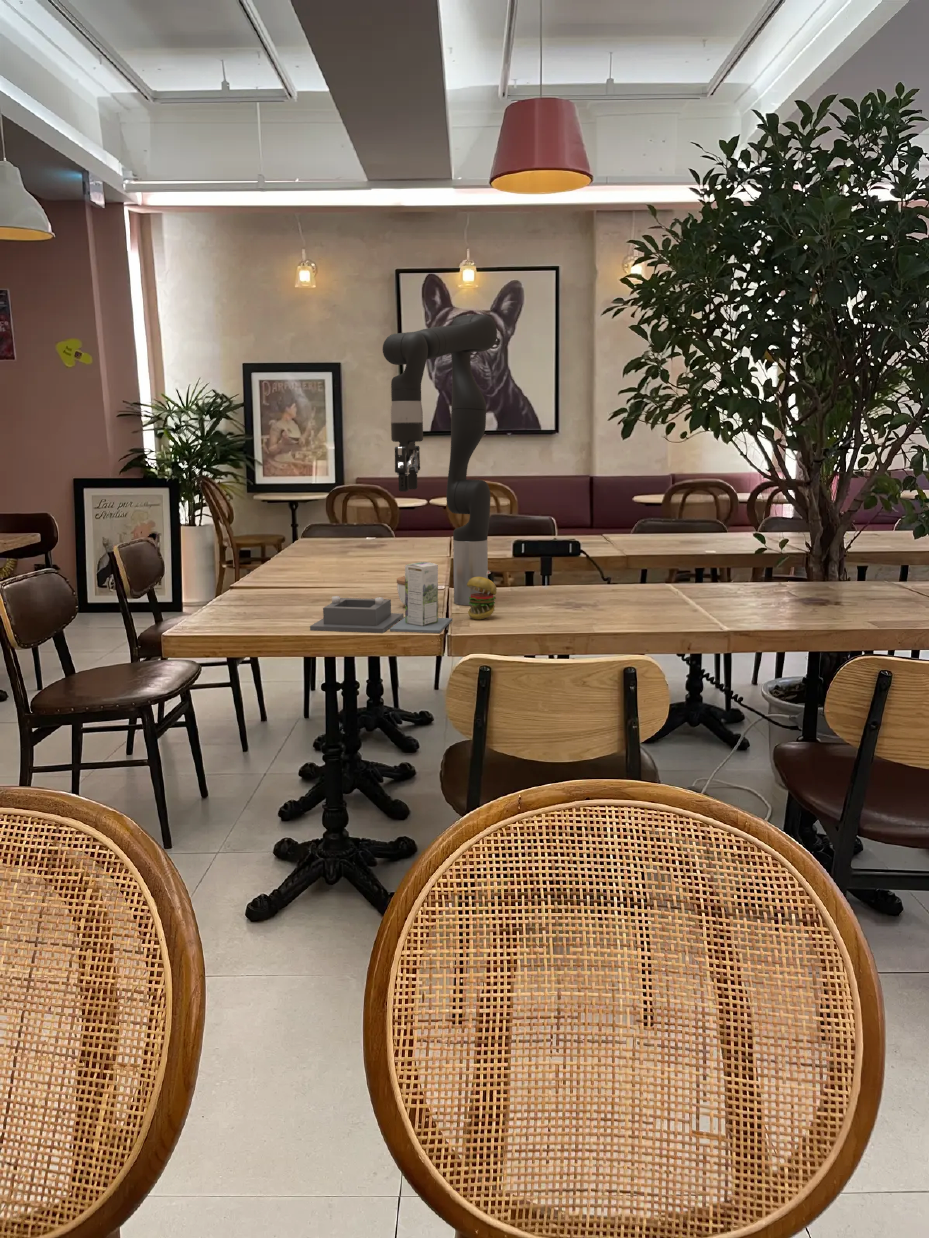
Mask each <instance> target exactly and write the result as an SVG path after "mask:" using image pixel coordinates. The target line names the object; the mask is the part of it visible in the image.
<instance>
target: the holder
mask: <svg viewBox="0 0 929 1238" xmlns="http://www.w3.org/2000/svg"><path fill="white" fill-rule="evenodd" d="M322 616H323V618H321V619H320V620H318V621H316V622H314V623H313V624H311V625H310V626H309V630H310V631H317V632H318V631H321V632H322V631H324V632H351V633H371V634H372V633H374V634H376V633H377V634H384V633H385V632H387V631H388V630H390V628H391V626H392V627H393V626H394V625H395V623H396V624H397V623H398V622H399V620H400V619H401V620H402V619H403V618H404V617H405V615H404V613H399V612H394V613H393V612H392V601H391V598H390V599H387V598H386V599H385V598H384V597H382V596H381V597H380V596H379V597H375V598H357V597H356V598H354V597H353V598H352V597H341V596H339V595H335V596H334V595H333V596H331V603H329V604H327V605H326V606H324V607H322Z"/></svg>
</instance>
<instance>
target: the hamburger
mask: <svg viewBox="0 0 929 1238" xmlns="http://www.w3.org/2000/svg"><path fill="white" fill-rule="evenodd" d="M491 573H492V572H491V571H490V570H489V569H488V570H487V574H488V575H490V574H491ZM487 574H486V575H487ZM467 586H468V587H469V588H470V591H471V590H472V589H473V591H474V590H476V591H479V592H482V593H474V594H471V597H469V599H470V602H469V604H472V605H470V608H469V609H468V611H467V614H468V616H469V617H470V618H471V619H473V620H477V621H478V620H479V621H480V620H483V619H486V618H489V617H490V616H491V615H492V614H493V613H494V612H495V608H496V607H495V606H496V605H495V604H496V602H495V599H496V596H494V595H496V594H497V592H498V591H497V590H498V589H497V586H496V584H495V583H494V582H493V581H492V580H490V579H489V578H488V579H487V578H484V577H473V578H471V579H470V580H469V581H468V583H467Z"/></svg>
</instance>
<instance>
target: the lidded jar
mask: <svg viewBox="0 0 929 1238" xmlns="http://www.w3.org/2000/svg"><path fill="white" fill-rule="evenodd" d="M396 584H397V587H396V588H397V594H398V595H397V596H398V598H399V600H400V602H401V603H402V604H403V605H404V606H405V575H403V576H399V577H397V578H396Z"/></svg>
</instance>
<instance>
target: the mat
mask: <svg viewBox="0 0 929 1238" xmlns="http://www.w3.org/2000/svg"><path fill="white" fill-rule="evenodd" d="M452 622H453V618H449V617H438V622H436V623H433V624H429V625H425V626H420V625H413V624H407V623H406V622H405V616H404V617H403V618H402V619H401V620H400V621H398V622H397V623H396V624H394V625H393V626H392V627H390V628H389V632H399V633H400V632H403V633H424V634H425V633H428V634H429V633H431V634H432V633H433V634H440V633H441V632H442V631H443V630H445V628H446V627H448V625H449V624H451V623H452Z"/></svg>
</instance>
